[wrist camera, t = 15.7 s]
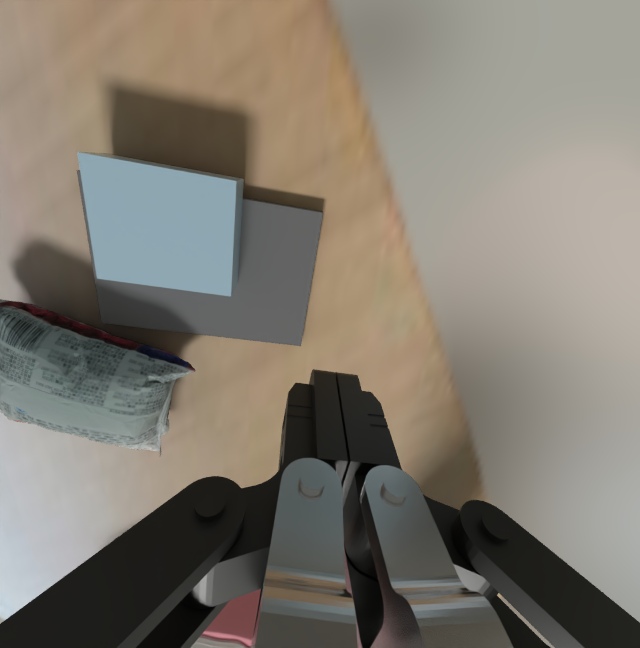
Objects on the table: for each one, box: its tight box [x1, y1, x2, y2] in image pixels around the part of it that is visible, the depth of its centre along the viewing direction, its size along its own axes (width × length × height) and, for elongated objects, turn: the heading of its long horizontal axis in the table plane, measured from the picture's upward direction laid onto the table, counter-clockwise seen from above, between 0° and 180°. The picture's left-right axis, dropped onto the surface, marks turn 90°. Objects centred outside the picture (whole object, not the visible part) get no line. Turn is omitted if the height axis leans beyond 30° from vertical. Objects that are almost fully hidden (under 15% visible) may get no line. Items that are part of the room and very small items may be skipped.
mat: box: [77, 170, 323, 346], centre depth 19 cm, size 13×9×1 cm
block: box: [77, 152, 244, 296], centre depth 17 cm, size 2×7×6 cm
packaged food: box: [0, 299, 196, 455], centre depth 20 cm, size 9×12×5 cm
